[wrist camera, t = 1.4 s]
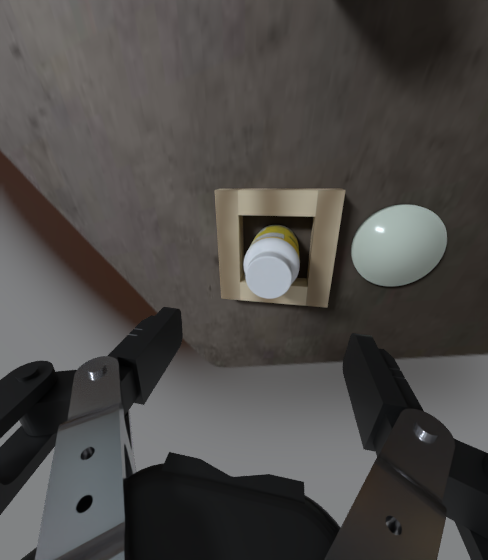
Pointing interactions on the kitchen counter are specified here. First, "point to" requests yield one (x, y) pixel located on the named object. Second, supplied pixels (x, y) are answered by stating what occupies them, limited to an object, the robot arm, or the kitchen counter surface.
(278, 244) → the supplement bottle
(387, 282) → the pale green pebble
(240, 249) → the pocket block
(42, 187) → the kitchen counter surface
